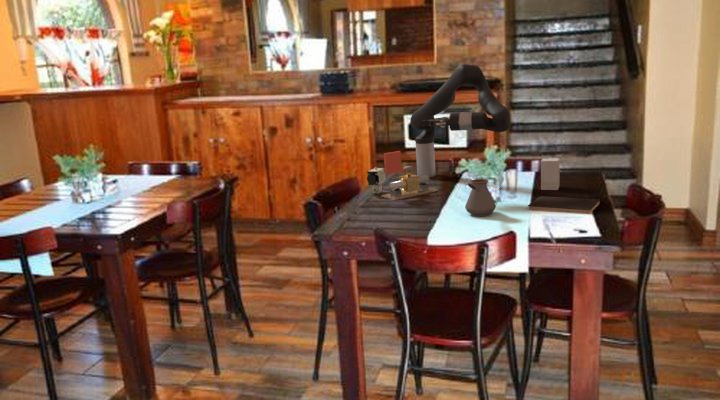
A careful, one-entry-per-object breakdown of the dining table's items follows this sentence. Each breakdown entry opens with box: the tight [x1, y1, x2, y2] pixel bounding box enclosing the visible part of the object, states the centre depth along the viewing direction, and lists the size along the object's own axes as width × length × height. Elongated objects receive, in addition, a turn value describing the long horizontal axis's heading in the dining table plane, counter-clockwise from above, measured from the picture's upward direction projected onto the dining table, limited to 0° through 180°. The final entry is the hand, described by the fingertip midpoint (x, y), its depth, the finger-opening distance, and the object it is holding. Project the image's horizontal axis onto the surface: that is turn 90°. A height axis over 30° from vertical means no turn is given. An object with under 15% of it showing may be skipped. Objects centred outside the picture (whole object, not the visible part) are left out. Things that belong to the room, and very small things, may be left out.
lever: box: [383, 150, 414, 175], centre depth 275 cm, size 14×4×9 cm, turn 124°
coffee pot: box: [464, 178, 497, 217], centre depth 232 cm, size 21×12×15 cm, turn 155°
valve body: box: [381, 171, 439, 201], centre depth 280 cm, size 24×10×10 cm, turn 122°
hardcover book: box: [527, 196, 601, 214], centre depth 238 cm, size 16×23×2 cm
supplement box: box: [540, 157, 561, 191], centre depth 269 cm, size 7×7×13 cm
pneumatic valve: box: [366, 166, 387, 195], centre depth 287 cm, size 6×12×12 cm, turn 154°
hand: (421, 123), depth 268 cm, fingers closed
